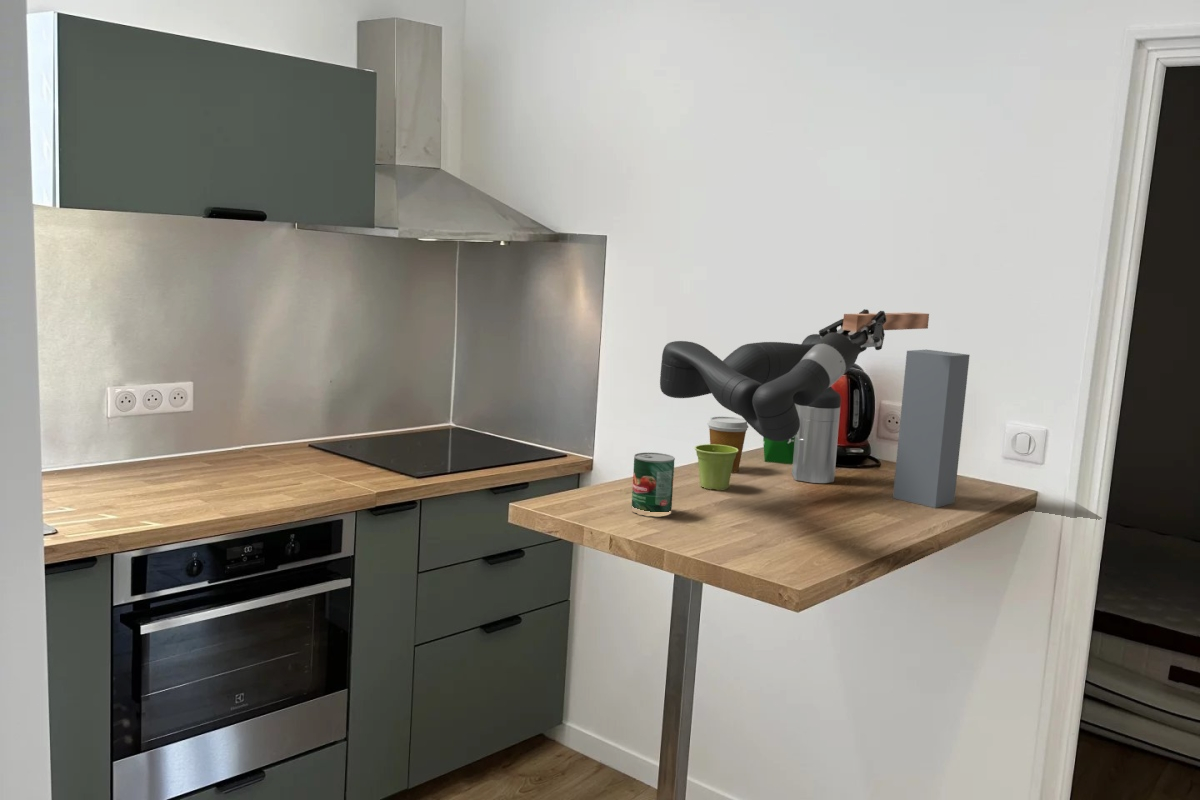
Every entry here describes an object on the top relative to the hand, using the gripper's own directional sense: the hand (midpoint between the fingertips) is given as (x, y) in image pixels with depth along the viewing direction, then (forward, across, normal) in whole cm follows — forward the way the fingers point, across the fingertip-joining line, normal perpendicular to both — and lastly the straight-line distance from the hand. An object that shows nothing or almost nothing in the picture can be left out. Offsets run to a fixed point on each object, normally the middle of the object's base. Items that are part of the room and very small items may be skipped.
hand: (875, 314), depth 199 cm
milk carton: (+7, +43, +51) cm, 67 cm away
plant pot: (-25, +32, +32) cm, 52 cm away
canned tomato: (-48, +26, +19) cm, 58 cm away
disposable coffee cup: (-11, +43, +40) cm, 60 cm away
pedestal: (+2, 0, +48) cm, 48 cm away
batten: (+3, 0, +5) cm, 5 cm away
